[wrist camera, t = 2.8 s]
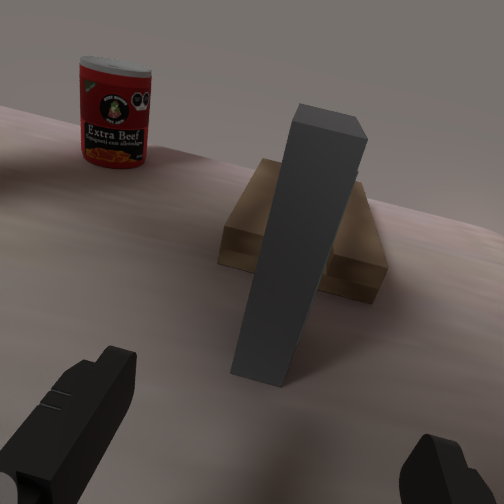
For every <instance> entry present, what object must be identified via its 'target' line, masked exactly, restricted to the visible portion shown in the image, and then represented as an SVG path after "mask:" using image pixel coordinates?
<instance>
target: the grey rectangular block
mask: <svg viewBox="0 0 504 504" xmlns="http://www.w3.org/2000/svg"><path fill="white" fill-rule="evenodd" d="M367 141H368V138H367V137H366V135H365V133H364V131H363V129H362V128H361V126H360V124H359V122H358V120H357V118H356V117H354V116H350V115H346V114H341V113H338V112H333V111H329V110H325V109H321V108H317V107H313V106H309V105H304V104H299V107H298V109H297V111H296V113H295V116H294V118H293V120H292V123H291V128H290V131H289V135H288V140H287V144H286V148H285V152H284V156H283V160H282V164H281V168H280V172H279V176H278V180H277V184H276V188H275V192H274V197H273V201H272V205H271V209H270V213H269V217H268V221H267V225H266V229H265V233H264V237H263V241H262V245H261V249H260V253H259V258H258V262H257V266H256V270H255V274H254V278H253V282H252V286H251V290H250V294H249V298H248V302H247V306H246V310H245V315H244V319H243V323H242V327H241V331H240V335H239V339H238V343H237V347H236V351H235V355H234V359H233V363H232V367H231V371H230V373H231V374H234V375H238V376H241V377H245V378H249V379H252V380H256V381H259V382H263V383H267V384H270V385H274V386H277V387H281V388H282V385H283V382H284V379H285V376H286V373H287V370H288V367H289V365H290V362H291V359H292V356H293V353H294V350H295V347H296V346H297V345H298V343H299V340H300V337H301V334H302V331H303V328H304V326H305V323H306V320H307V317H308V314H309V311H310V308H311V306H312V303H313V300H314V297H315V294H316V291H317V288H318V286H319V283H320V280H321V277H322V274H323V271H324V269H325V266H326V263H327V260H328V257H329V254H330V251H331V249H332V246H333V243H334V240H335V237H336V234H337V231H338V229H339V226H340V223H341V220H342V217H343V214H344V212H345V209H346V206H347V203H348V200H349V197H350V194H351V192H352V189H353V186H354V183H355V180H356V177H357V174H358V167H359V164H360V161H361V158H362V155H363V152H364V149H365V147H366V144H367Z"/></svg>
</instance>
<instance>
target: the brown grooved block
mask: <svg viewBox="0 0 504 504" xmlns="http://www.w3.org/2000/svg"><path fill="white" fill-rule="evenodd" d="M281 164H282V163H280V162H276V161H272V160H268V159H264V158H263V159H262V160H261V162H260V164H259V166H258V168H257V169H256V171H255V173H254V175H253V176H252V178H251V180H250V182H249V183H248V185H247V187H246V189H245V190H244V192H243V194H242V196H241V197H240V199H239V201H238V203H237V204H236V206H235V208H234V210H233V212H232V213H231V215H230V217H229V219H228V220H227V222H226V224H225V226H224V231H223V236H222V241H221V247H220V252H219V258H218V264H222V265H225V266H229V267H233V268H237V269H241V270H244V271H248V272H252V273H255V270H256V266H257V262H258V258H259V253H260V249H261V245H262V241H263V237H264V233H265V229H266V225H267V221H268V217H269V213H270V209H271V205H272V201H273V197H274V192H275V188H276V184H277V180H278V176H279V172H280V168H281ZM387 270H388V265H387V262H386V259H385V256H384V253H383V249H382V246H381V243H380V240H379V237H378V233H377V230H376V227H375V224H374V221H373V217H372V214H371V211H370V208H369V205H368V201H367V198H366V195H365V192H364V189H363V186H362V183H361V182H356V181H355V183H354V186H353V189H352V192H351V194H350V197H349V200H348V203H347V206H346V209H345V212H344V214H343V217H342V220H341V223H340V226H339V229H338V231H337V234H336V237H335V240H334V243H333V246H332V249H331V251H330V254H329V257H328V260H327V263H326V266H325V269H324V271H323V274H322V277H321V280H320V283H319V286H318V288H317V290H320V291H324V292H328V293H332V294H335V295H339V296H343V297H347V298H351V299H354V300H358V301H362V302H366V303H370V304H373V301H374V299H375V297H376V295H377V292H378V290H379V288H380V286H381V283H382V281H383V279H384V277H385V275H386V272H387Z"/></svg>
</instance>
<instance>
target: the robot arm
mask: <svg viewBox="0 0 504 504" xmlns="http://www.w3.org/2000/svg"><path fill="white" fill-rule="evenodd" d="M136 361H137V354H136V352H132V351H129V350H125V349H121V348H118V347H114V346H108V347H107V348H106V349H105V350H104V351H103V353H102V354H101V355H100V357H99V358H98V359H97V361H96V362H91V361H88V360H82V361H80V362H79V363H77V364H76V365H74V366H73V367H71V368H70V369H68V370H66V371H65V372H64V373H63V374H62V376H61V377H60V378H59V379H58V381H57V382H56V383H55V384H54V385H53V387H52V388H51V391H49V392H48V393H47V394H46V395H45V397H44V398H43V399H42V400H41V401H40V404H39V405H37V406H36V408H35V409H34V410H33V411H32V412H31V414H30V415H29V416H28V417H27V419H26V420H25V421H24V422H23V424H22V425H21V426H20V427H19V428H18V430H17V431H16V432H15V433H14V435H13V436H12V437H11V438H10V439H9V441H8V442H7V443H6V444H5V446H4V447H3V448H2V449H1V451H0V504H77V503H78V501H79V499H80V497H81V495H82V493H83V492H84V490H85V488H86V486H87V484H88V482H89V481H90V479H91V477H92V475H93V473H94V471H95V470H96V468H97V466H98V464H99V462H100V460H101V459H102V457H103V455H104V453H105V451H106V450H107V448H108V446H109V444H110V442H111V440H112V439H113V437H114V435H115V433H116V431H117V429H118V428H119V426H120V424H121V422H122V420H123V418H124V417H125V415H126V413H127V411H128V409H129V406H130V404H131V401H132V398H133V394H134V389H135V375H136ZM399 491H400V497H401V502H402V504H496V501H495V498H494V496H493V493H492V492H491V490H490V489H489V487H488V486H487V485H486V483H485V482H484V480H483V479H482V478H481V476H480V475H479V473H478V472H477V470H475V469H471V468H468V466H467V463H466V460H465V458H464V455H463V452H462V450H461V447H460V446H459V444H458V443H457V442H455V441H451V440H448V439H444V438H441V437H437V436H433V435H430V434H424V435H423V436H422V437H421V439H420V440H419V442H418V443H417V445H416V446H415V448H414V449H413V451H412V452H411V454H410V455H409V457H408V458H407V460H406V461H405V463H404V464H403V466H402V469H401V472H400V477H399Z"/></svg>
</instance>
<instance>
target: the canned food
mask: <svg viewBox="0 0 504 504" xmlns="http://www.w3.org/2000/svg"><path fill="white" fill-rule="evenodd" d="M151 78H152V76H151V70H150V69H149V68H147V67H144V66H141V65H138V64H134V63H130V62H126V61H121V60H116V59H110V58H103V57H93V56H84V57H81V58H80V110H81V111H80V114H81V150H82V153H83V156H84V158H85V159H86V160H87V161H89V162H90V163H93V164H95V165H98V166H102V167H107V168H115V169H128V168H134V167H138V166H140V165H142V164H143V163H144V160H145V158H146V152H147V138H148V123H149V110H150V95H151Z"/></svg>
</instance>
